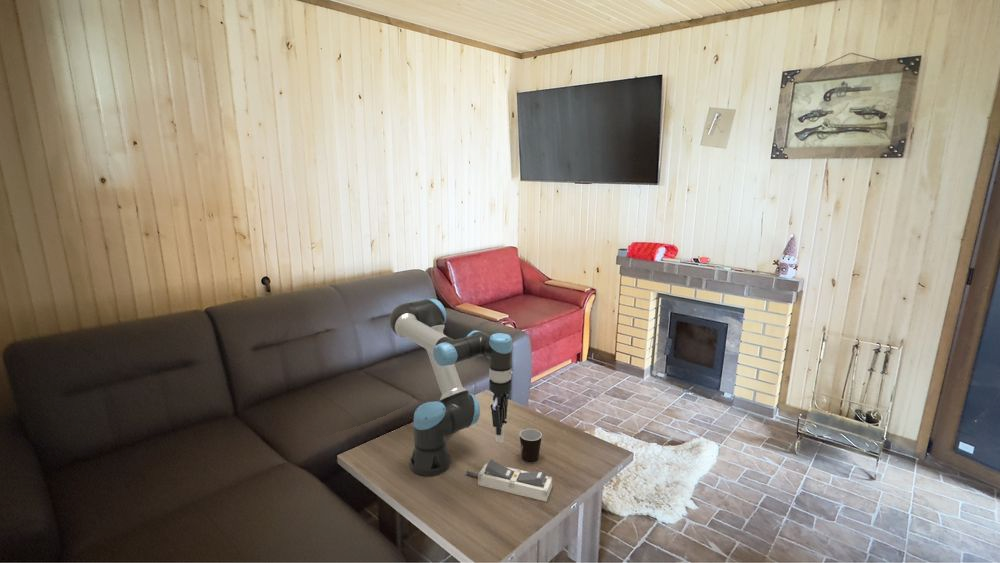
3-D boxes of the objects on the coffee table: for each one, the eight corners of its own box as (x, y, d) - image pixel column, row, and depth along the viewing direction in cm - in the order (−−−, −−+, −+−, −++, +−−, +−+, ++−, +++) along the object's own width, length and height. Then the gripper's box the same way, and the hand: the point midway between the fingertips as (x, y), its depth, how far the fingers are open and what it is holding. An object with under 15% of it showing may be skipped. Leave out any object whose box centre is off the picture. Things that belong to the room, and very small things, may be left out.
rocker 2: (518, 485, 164) (516, 480, 163) (522, 477, 168) (520, 472, 168) (542, 484, 160) (540, 478, 160) (546, 476, 164) (544, 470, 164)
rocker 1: (484, 470, 167) (486, 466, 166) (489, 463, 171) (491, 458, 171) (507, 483, 165) (509, 478, 164) (511, 475, 169) (513, 470, 169)
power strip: (462, 481, 169) (462, 469, 168) (471, 468, 177) (471, 456, 176) (546, 501, 159) (546, 489, 158) (552, 487, 167) (552, 475, 165)
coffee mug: (539, 465, 179) (540, 441, 177) (517, 462, 181) (517, 439, 178) (543, 448, 190) (543, 426, 188) (522, 445, 192) (522, 423, 189)
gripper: (504, 388, 153) (503, 453, 158) (516, 373, 165) (515, 434, 170) (483, 385, 155) (482, 449, 160) (496, 370, 167) (496, 430, 172)
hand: (499, 441), depth 165 cm, fingers closed
